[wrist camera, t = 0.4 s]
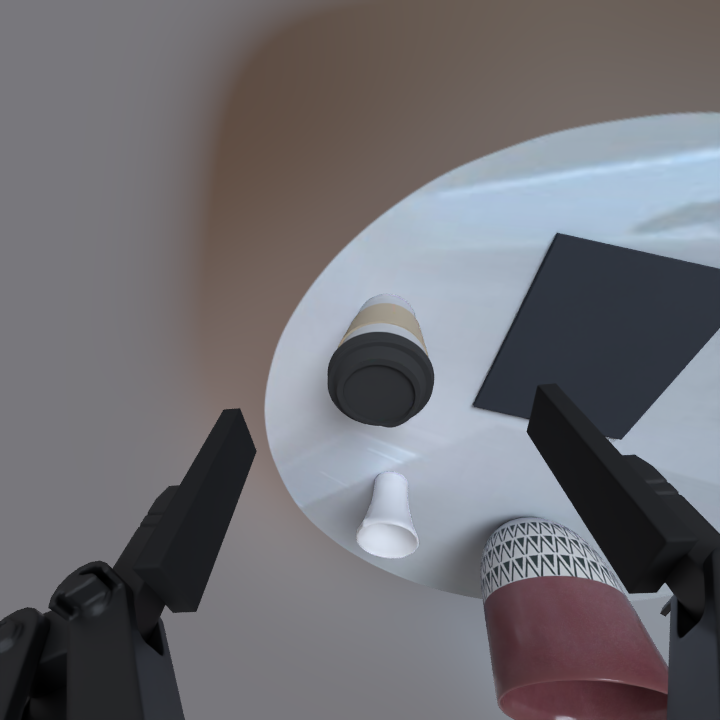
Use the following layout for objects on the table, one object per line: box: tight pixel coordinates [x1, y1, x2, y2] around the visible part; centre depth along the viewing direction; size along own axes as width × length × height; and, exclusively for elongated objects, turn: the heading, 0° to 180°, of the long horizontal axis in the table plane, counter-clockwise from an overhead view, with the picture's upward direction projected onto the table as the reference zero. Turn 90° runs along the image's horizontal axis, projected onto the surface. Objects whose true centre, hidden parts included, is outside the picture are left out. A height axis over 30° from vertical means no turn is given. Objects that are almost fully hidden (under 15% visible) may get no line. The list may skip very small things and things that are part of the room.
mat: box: [473, 233, 720, 440], centre depth 36 cm, size 22×20×1 cm
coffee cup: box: [328, 294, 434, 427], centre depth 31 cm, size 9×9×15 cm
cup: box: [356, 471, 419, 559], centre depth 48 cm, size 9×9×10 cm
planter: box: [481, 517, 669, 720], centre depth 45 cm, size 20×20×21 cm
